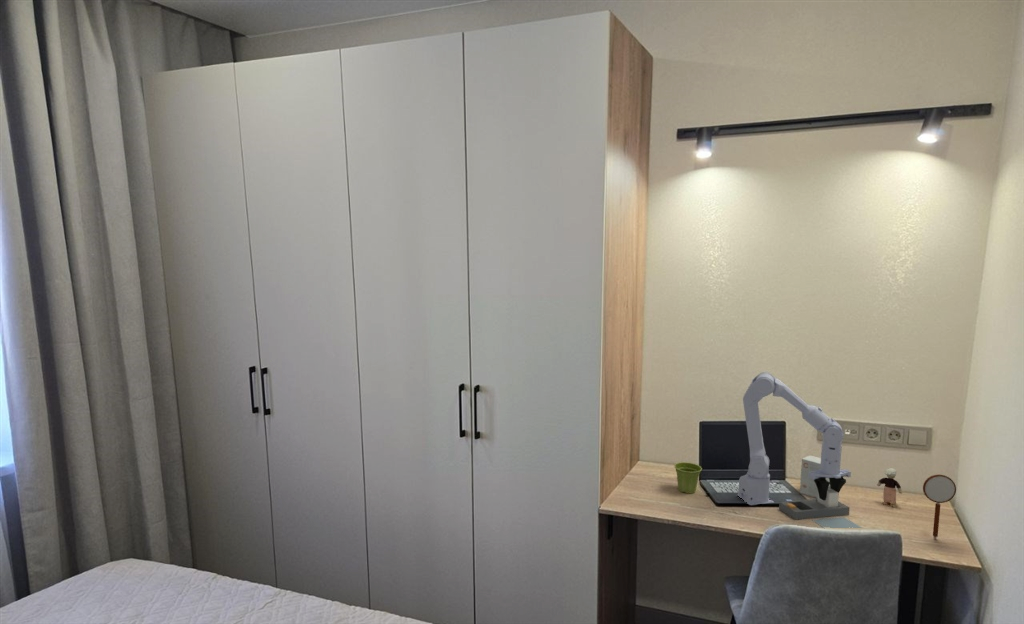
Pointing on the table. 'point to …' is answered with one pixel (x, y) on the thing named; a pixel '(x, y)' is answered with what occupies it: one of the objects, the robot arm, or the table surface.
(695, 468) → the plant pot
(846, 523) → the mat
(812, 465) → the small box
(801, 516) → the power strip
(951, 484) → the magnifying glass
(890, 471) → the grandmother figurine
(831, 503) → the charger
